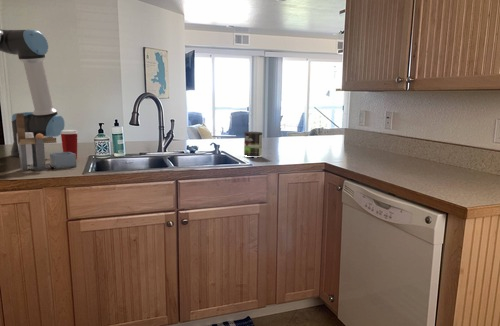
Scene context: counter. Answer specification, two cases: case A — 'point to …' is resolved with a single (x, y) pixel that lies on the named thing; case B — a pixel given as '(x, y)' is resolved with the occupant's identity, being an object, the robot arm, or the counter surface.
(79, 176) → the counter surface
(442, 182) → the counter surface
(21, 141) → the lever
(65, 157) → the grey rounded block
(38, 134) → the ball
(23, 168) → the post
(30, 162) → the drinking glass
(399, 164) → the counter surface
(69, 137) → the coffee cup
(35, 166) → the pivot stand
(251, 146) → the coffee can
